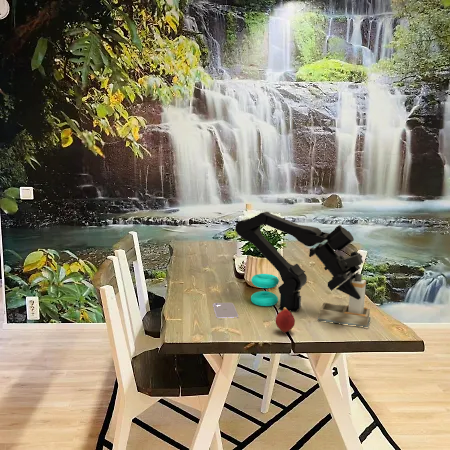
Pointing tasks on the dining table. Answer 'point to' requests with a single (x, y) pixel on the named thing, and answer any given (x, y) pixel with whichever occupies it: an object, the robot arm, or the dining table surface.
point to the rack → (343, 315)
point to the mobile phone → (225, 310)
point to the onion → (285, 320)
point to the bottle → (359, 285)
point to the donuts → (264, 296)
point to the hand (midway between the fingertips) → (361, 297)
